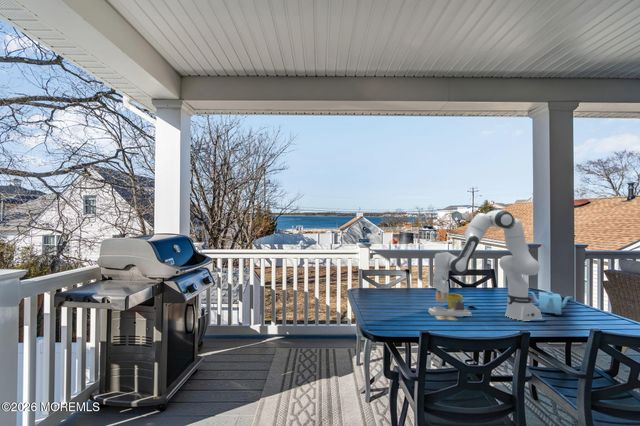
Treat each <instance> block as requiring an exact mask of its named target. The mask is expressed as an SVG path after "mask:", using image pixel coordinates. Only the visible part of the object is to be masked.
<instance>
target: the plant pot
mask: <svg viewBox="0 0 640 426" xmlns="http://www.w3.org/2000/svg"><path fill="white" fill-rule="evenodd" d="M463 298H464V297H463V295H461V294H458V293H446V296H445V300H446V301H447V305H448V306H447V307H448V308H447V309H452V308H454V302H458V299H461V302H463Z"/></svg>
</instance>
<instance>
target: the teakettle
mask: <svg viewBox="0 0 640 426" xmlns="http://www.w3.org/2000/svg"><path fill="white" fill-rule="evenodd" d="M529 293H530V294H531V295H532V298H534V300H535V301H534V303H535V304H536V305H538V309H539V310H540V311H541V312H546V314H547V313H549V314H553V313H558V315H562V308H564V307H565V306H566V305H567V303H568V300H569V299H572V298H573V296H565V297H564V299H563V301H562V297H561V294H560V293H553V291H548V290H547V291H546V292H544V291H538V297H537V296H536V293H535V292H534V291H528V294H529Z"/></svg>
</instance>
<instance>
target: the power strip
mask: <svg viewBox="0 0 640 426" xmlns="http://www.w3.org/2000/svg"><path fill="white" fill-rule="evenodd" d="M427 311H428V313H429V314H430V315H431V316H454V317H463V316H471V317H472V312H471V311H470V310H469V309H465V308H464V310H455V309H454V308H452V309H449V308H446V307H444V306H433V308H432V307H431V308H430V307H429V308H428V310H427Z"/></svg>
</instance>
